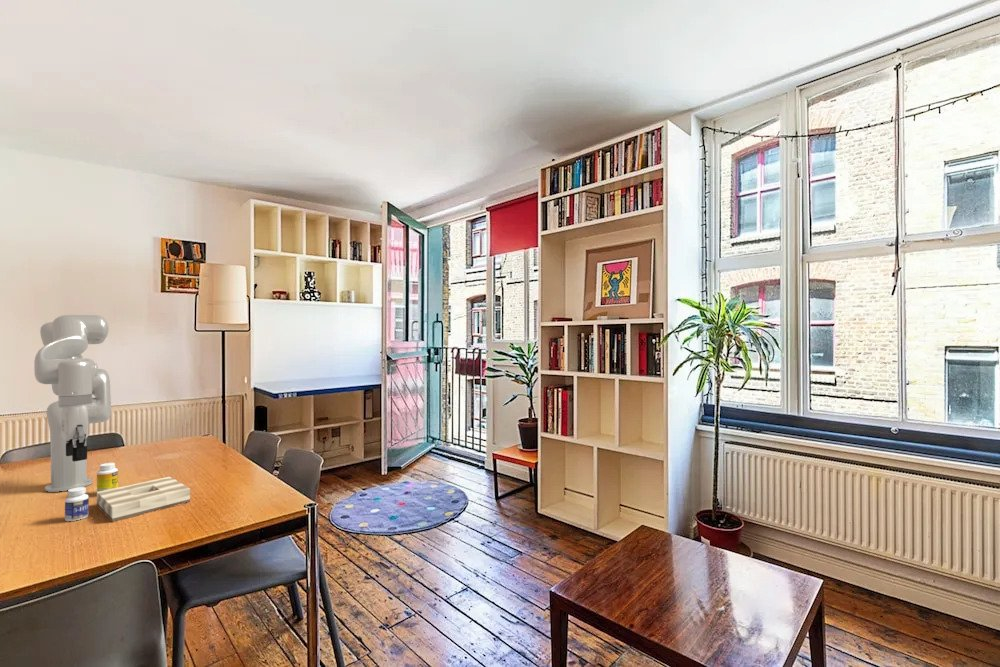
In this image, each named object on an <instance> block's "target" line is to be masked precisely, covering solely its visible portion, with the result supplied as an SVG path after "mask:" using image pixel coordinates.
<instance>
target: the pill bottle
mask: <svg viewBox="0 0 1000 667" xmlns="http://www.w3.org/2000/svg"><path fill="white" fill-rule="evenodd" d="M86 493H87V488H86V486H85V487H78V488H73V489H70V490H68V491H67V496H68V497H66V498H65V500H64V520H65V521H66V522H69V521H71V522H77V521H76V520H78V521H81V520H84V519H86V518H88V517H89V510H90V509H89V502H90V501H89V499H90V498H89V494H86ZM80 519H81V520H80Z"/></svg>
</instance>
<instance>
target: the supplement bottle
mask: <svg viewBox="0 0 1000 667" xmlns="http://www.w3.org/2000/svg"><path fill="white" fill-rule="evenodd" d="M118 471H119V469H118V468H116V463H115V462H106V463H101V464H100V465H99V470H98V471H97V472H96V493H97V492H100V491H104V490H109V489H114V488H118V487H119V472H118Z"/></svg>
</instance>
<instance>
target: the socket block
mask: <svg viewBox="0 0 1000 667" xmlns="http://www.w3.org/2000/svg"><path fill="white" fill-rule="evenodd" d="M186 502H189V503H191V488H190V487H188V486H187V485H185V484H183V483H182V482H180V481H178V480H177V479H175V478H173V477H171V476H166V477H161V478H156V479H151V480H146V481H142V482H138V483H133V484H130V485H129V484H128V485H125V486H118V488H114V489H109V490H104V491H100V492H97V491H96V506H98V507H99V508H100V509H101V510H102V511H103V512H104V513H103V512H102V511H101V510H100V509H99V508H98V507H97V508H98V509H99V510H100V511H101V512H102V513H103V514H104V515H105V516H106V517H107V518H108V519H109V520H110V521H111V522H112V523H115V522H118V520H119V521H122V519H123V520H126V519H130V518H133V516H134V517H137V515H138V516H141V515H140V514H142V515H144V513H146V514H148V512H150V513H153V512H152V511H154V512H156V511H155V510H158V511H160V510H159V509H161V510H164V509H163V508H165V509H168V508H167V507H169V508H172V507H171V506H173V507H176V506H175V505H177V506H179V505H178V504H181V505H183V504H182V503H185V504H187V503H186ZM114 521H115V522H114Z"/></svg>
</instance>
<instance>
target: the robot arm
mask: <svg viewBox="0 0 1000 667" xmlns="http://www.w3.org/2000/svg"><path fill="white" fill-rule="evenodd" d="M39 330H40V331H39V332H40V339H41V342H42V344H43V346H42V347H41V348H40V349H39V350H37V352H36V355H35V356H34V360H33V361H34V363H33V364H34V368H33V370H34V377H35V380H36V381H37V382H38V383H39V384H42V385H51V390H52V392H53V394H54V395H55V396H58V397H57V398H58V400H57V401H54V402H52V403H50V404H49V405H48V406H47V408H46V419H47V423H48V428H49V438H50V440H49V441H50V484H48V485H46V486H45V487H44V491H45V492H47V491H48V493H60V492H59V491H62V492H68V491H67V490H70V489H73V488H78V487H85V488H86V487H87V486H89V485H91V484H92V483H93V479H92V478H90V477H88V476H87V473H88V472H87V471H88V470H87V469H88V468H87V467H88V466H87V463H88V462H87V459H88V446H87V438H88V437H89V424H97V423H98V424H99V423H104V422H106V421H108V420H109V419H110V418H111V414H112V399H111V398H112V397H111V396H112V394H111V380H110V374H109V372H107V370H105V369H103V368H98V364H97V363H96V361H94V360H93V359H91V358H83V355H82V354H83V353H84V352H86V350H87V349H88V348H89V345H100V344H103V343H104V342H105V340H106V339H107V337H108V334H109V323H108V320H107V319H106V318H105V317H104V316H101V315H96V314H64V315H60V316H57V317H55V319H54V320H53V321H50V322H46V323H44V324H42V325H41V327H40V328H39ZM93 396H94V397H93Z"/></svg>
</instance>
